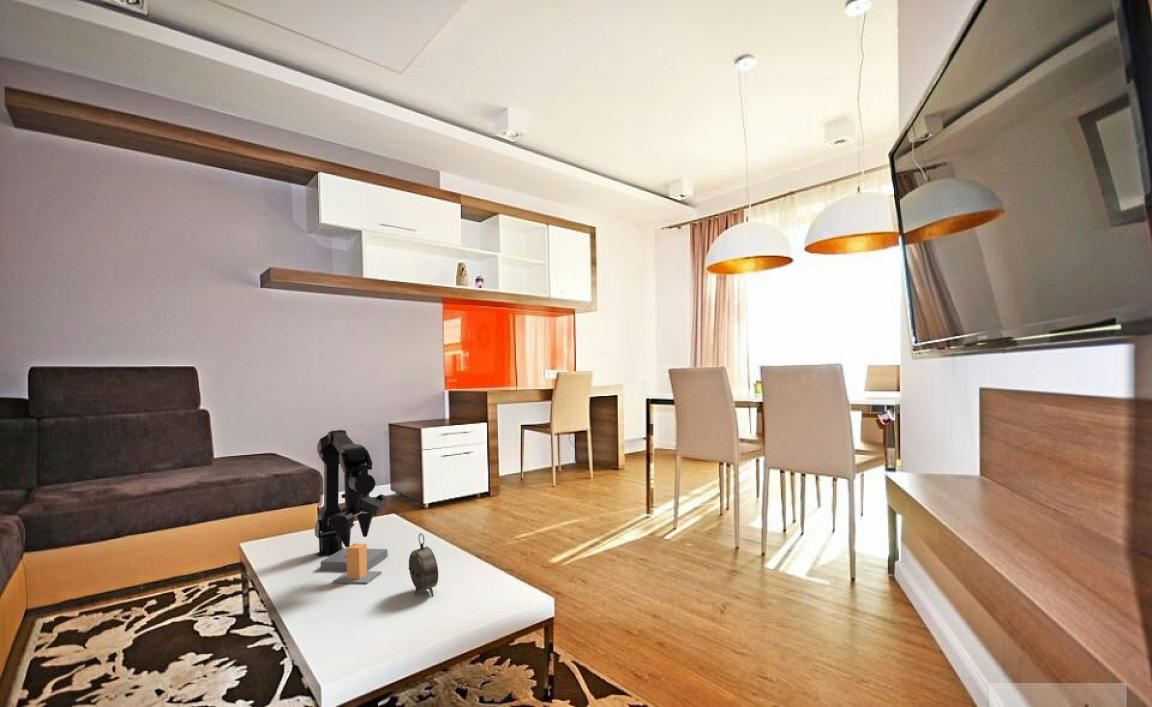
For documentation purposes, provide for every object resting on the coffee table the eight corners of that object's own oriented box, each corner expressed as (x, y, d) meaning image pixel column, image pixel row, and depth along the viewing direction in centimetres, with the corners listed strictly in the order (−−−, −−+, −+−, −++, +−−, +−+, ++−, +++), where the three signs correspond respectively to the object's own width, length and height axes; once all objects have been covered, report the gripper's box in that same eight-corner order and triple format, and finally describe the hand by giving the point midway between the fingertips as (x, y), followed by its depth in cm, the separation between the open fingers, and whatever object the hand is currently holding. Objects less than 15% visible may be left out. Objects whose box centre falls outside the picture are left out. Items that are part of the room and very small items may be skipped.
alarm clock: (440, 596, 141) (438, 535, 142) (420, 602, 138) (418, 540, 138) (424, 583, 150) (423, 526, 150) (406, 589, 146) (404, 531, 147)
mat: (332, 583, 153) (332, 581, 153) (348, 572, 161) (348, 570, 161) (366, 583, 151) (366, 582, 151) (381, 573, 159) (381, 571, 159)
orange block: (347, 578, 155) (346, 548, 155) (355, 573, 159) (354, 543, 159) (359, 579, 154) (358, 548, 154) (367, 573, 158) (366, 543, 158)
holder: (320, 569, 164) (320, 561, 164) (343, 555, 176) (343, 548, 176) (367, 570, 162) (367, 562, 162) (387, 556, 173) (387, 549, 174)
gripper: (361, 496, 146) (363, 553, 146) (395, 482, 165) (397, 532, 164) (325, 497, 148) (327, 552, 148) (363, 482, 167) (364, 531, 166)
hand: (356, 541), depth 156 cm, fingers open, 9 cm apart
